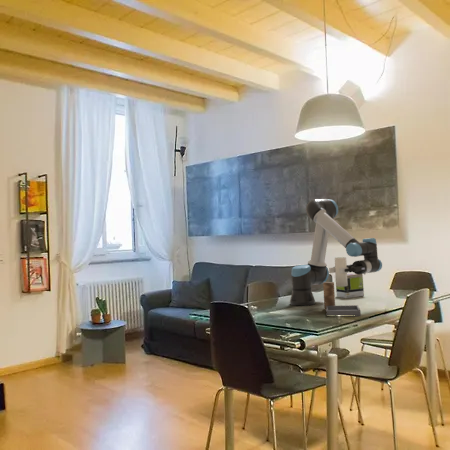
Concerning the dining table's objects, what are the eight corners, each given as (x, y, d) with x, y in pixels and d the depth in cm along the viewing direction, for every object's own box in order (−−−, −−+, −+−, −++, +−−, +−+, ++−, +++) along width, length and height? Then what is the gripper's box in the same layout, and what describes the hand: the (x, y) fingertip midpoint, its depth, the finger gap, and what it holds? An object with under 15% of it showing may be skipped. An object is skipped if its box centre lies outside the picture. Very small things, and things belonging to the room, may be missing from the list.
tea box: (355, 294, 336) (354, 272, 336) (364, 296, 326) (363, 273, 327) (336, 296, 330) (335, 274, 330) (344, 298, 321) (343, 275, 321)
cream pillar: (336, 286, 263) (334, 258, 263) (335, 285, 269) (334, 257, 269) (347, 286, 262) (346, 257, 262) (347, 285, 267) (345, 257, 268)
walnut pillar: (324, 309, 279) (323, 283, 280) (324, 308, 285) (323, 282, 286) (335, 309, 278) (334, 282, 279) (335, 308, 284) (333, 281, 284)
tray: (326, 316, 258) (326, 310, 258) (326, 311, 275) (326, 305, 275) (360, 316, 255) (360, 310, 255) (358, 310, 272) (357, 305, 272)
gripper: (376, 274, 269) (350, 278, 254) (347, 273, 284) (321, 277, 269) (375, 260, 269) (349, 263, 255) (346, 260, 284) (320, 263, 269)
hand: (334, 270), depth 262 cm, fingers closed on cream pillar, 6 cm apart
